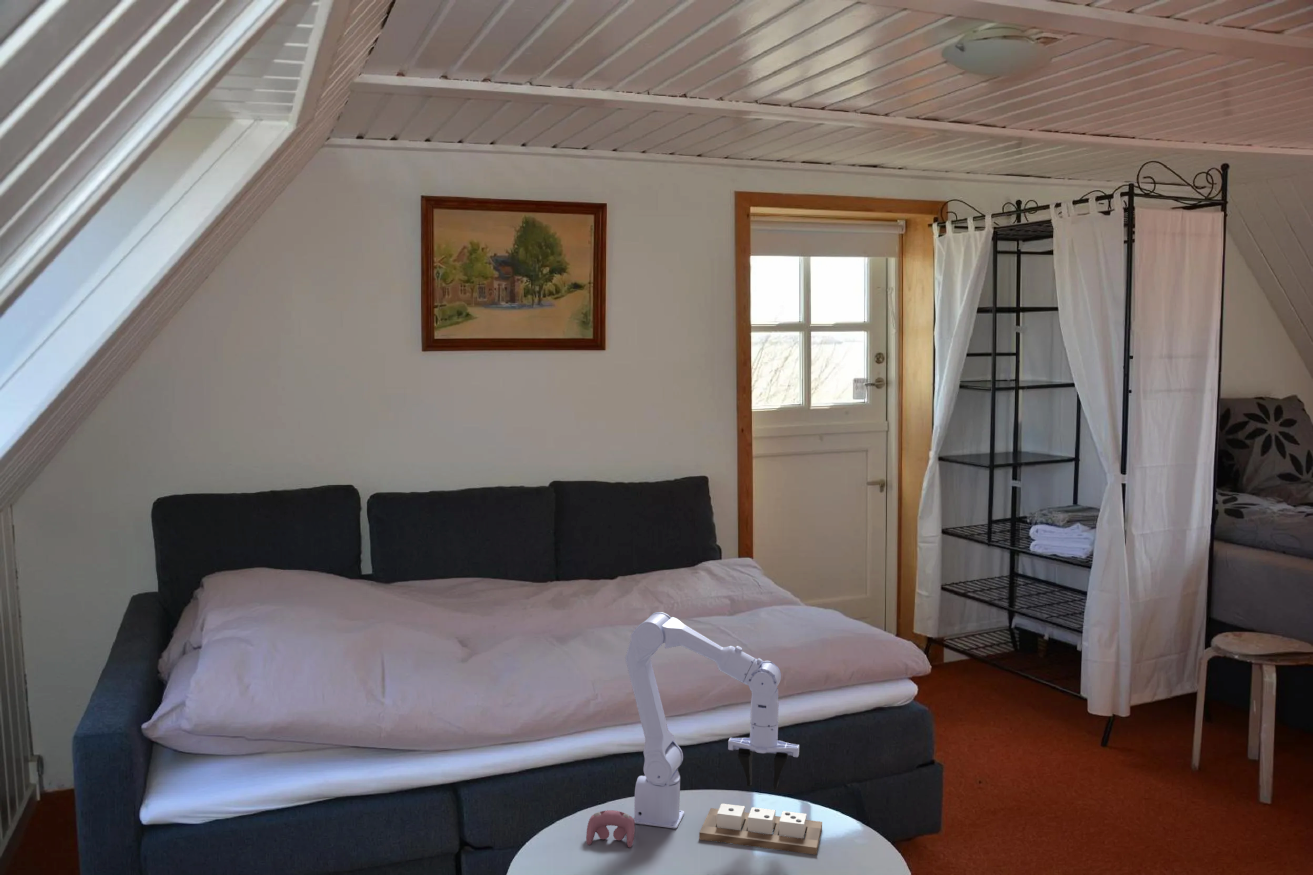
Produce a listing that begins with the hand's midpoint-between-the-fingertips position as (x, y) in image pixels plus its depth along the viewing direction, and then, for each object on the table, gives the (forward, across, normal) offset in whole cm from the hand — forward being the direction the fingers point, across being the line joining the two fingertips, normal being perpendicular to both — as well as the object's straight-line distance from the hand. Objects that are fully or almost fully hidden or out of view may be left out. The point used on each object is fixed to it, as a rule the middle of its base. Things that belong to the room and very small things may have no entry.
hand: (762, 785), depth 220 cm
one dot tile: (+9, -6, 0) cm, 11 cm away
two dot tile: (+9, 0, 0) cm, 9 cm away
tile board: (+10, 0, 0) cm, 10 cm away
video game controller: (+11, -29, -12) cm, 33 cm away
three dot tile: (+9, +7, 0) cm, 11 cm away
